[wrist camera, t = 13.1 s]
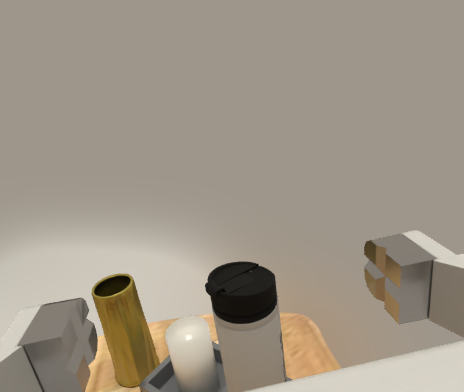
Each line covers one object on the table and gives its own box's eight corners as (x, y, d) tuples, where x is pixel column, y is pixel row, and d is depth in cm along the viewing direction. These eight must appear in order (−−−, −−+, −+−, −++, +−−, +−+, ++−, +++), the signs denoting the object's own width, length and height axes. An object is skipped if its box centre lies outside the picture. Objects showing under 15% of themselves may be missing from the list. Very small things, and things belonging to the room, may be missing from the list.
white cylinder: (171, 393, 43) (156, 337, 40) (198, 364, 47) (186, 311, 44) (201, 412, 40) (187, 354, 37) (227, 380, 44) (217, 324, 41)
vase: (122, 396, 45) (91, 307, 40) (111, 365, 50) (83, 283, 45) (165, 372, 47) (142, 285, 42) (151, 345, 52) (129, 266, 48)
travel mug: (221, 424, 39) (190, 274, 32) (265, 389, 42) (245, 247, 35) (257, 470, 34) (230, 305, 27) (303, 426, 37) (289, 269, 30)
